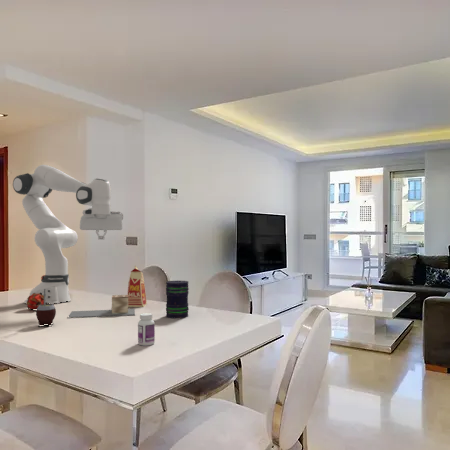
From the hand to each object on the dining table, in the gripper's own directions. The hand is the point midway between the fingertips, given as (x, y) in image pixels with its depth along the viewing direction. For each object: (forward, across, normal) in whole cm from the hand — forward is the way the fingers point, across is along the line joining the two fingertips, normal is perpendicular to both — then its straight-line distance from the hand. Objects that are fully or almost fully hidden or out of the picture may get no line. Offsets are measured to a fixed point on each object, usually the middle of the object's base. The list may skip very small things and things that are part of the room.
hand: (101, 239), depth 208 cm
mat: (+33, -2, +19) cm, 38 cm away
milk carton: (+33, -17, 0) cm, 37 cm away
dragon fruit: (+33, +29, +2) cm, 44 cm away
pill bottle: (+33, -19, +76) cm, 85 cm away
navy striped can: (+33, -34, +32) cm, 57 cm away
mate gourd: (+33, +18, +40) cm, 55 cm away
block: (+25, -10, +19) cm, 33 cm away
